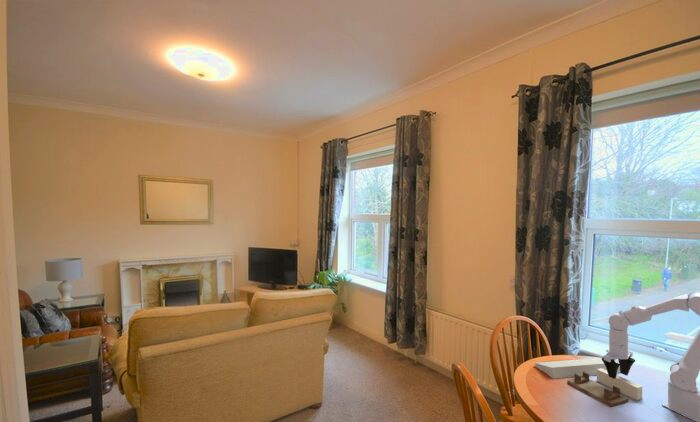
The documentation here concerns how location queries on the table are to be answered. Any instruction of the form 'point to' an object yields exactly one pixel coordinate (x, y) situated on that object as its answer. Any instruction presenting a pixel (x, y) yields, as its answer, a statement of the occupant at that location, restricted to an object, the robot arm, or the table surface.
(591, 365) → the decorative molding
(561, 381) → the table surface
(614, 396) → the walnut rack
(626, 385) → the cream rectangular block
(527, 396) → the table surface
